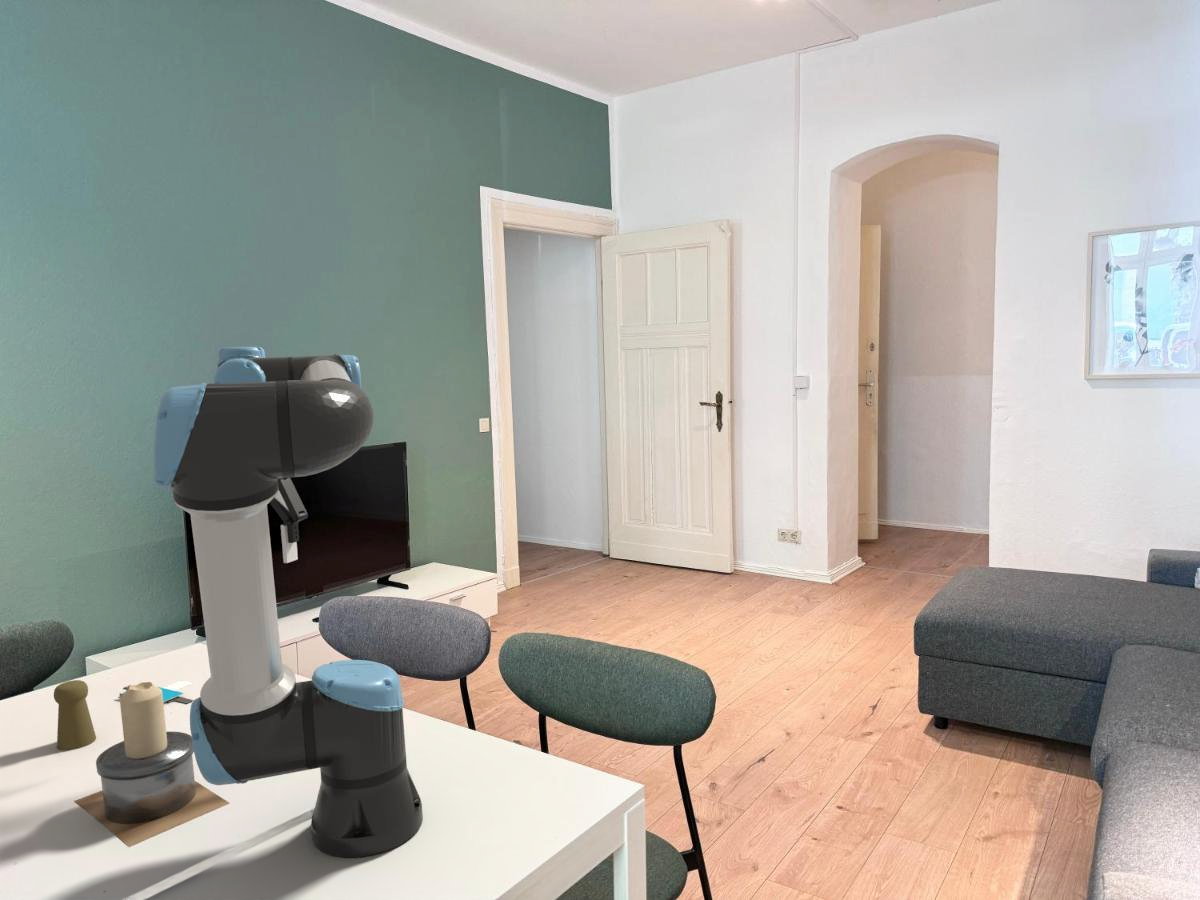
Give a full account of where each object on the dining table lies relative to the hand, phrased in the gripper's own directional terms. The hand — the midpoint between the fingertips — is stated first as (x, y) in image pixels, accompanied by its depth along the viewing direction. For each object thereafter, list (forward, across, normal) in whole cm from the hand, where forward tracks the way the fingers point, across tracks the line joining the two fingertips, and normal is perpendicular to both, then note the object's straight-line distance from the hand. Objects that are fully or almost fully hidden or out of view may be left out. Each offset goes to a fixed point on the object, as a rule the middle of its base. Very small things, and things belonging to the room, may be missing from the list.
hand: (259, 559), depth 150 cm
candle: (+22, -1, +27) cm, 35 cm away
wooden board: (+32, -1, +27) cm, 42 cm away
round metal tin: (+30, -1, +27) cm, 40 cm away
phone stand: (+32, +36, -9) cm, 49 cm away
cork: (+32, +32, +13) cm, 47 cm away
